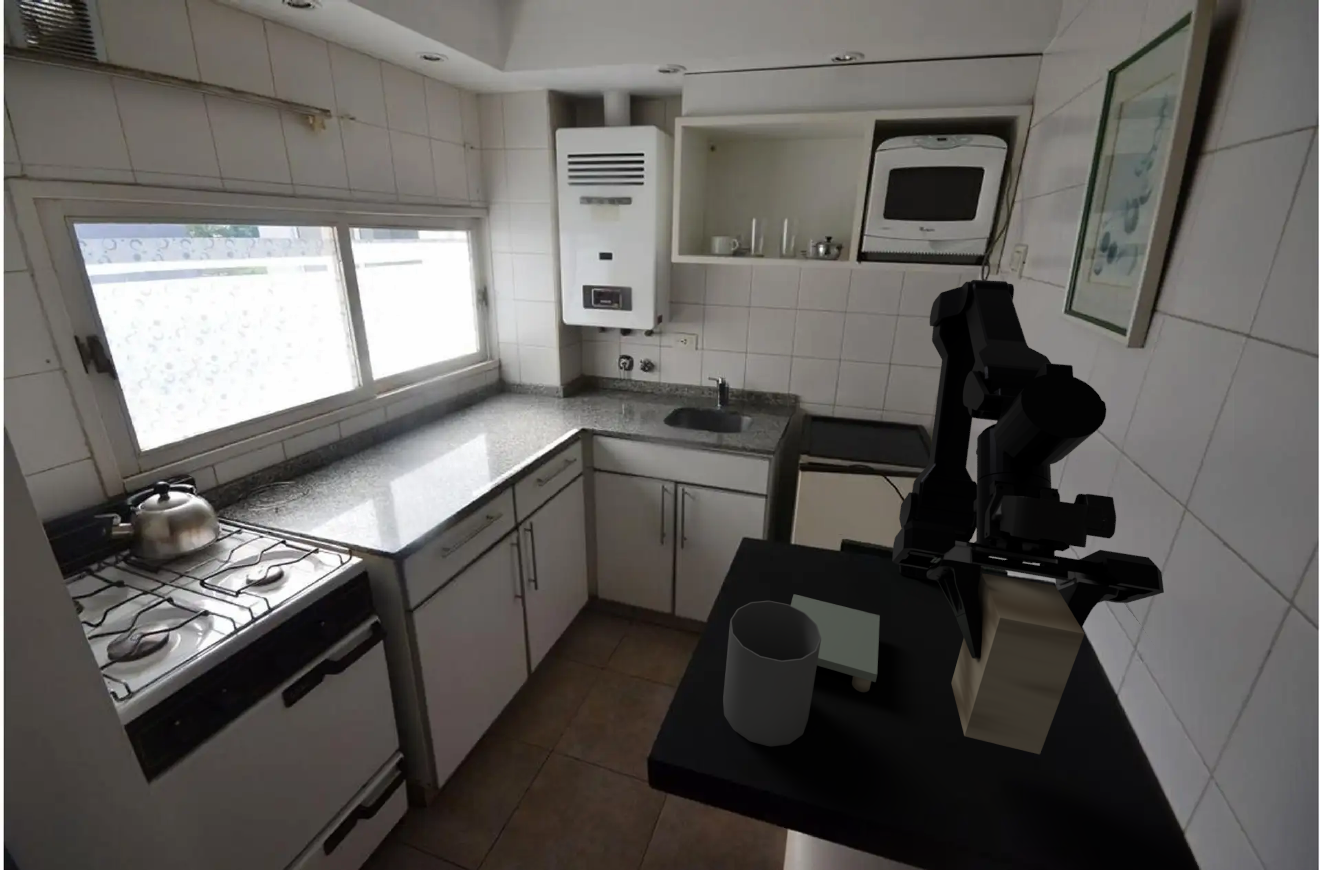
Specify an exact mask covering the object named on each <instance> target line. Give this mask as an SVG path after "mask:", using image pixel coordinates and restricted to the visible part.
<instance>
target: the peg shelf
mask: <svg viewBox="0 0 1320 870" xmlns="http://www.w3.org/2000/svg"><path fill="white" fill-rule="evenodd" d="M790 606H792V607H794V608H796V609H798V610H800V611H802V612H804V613H806V614H807V615H808V616H809V617H810V618H811V619H812V620H813V621H814V622H815V623H816V624H817V626H818V630H819V633H820V636H821V643H820V649H819V655H818V662H817V667H821V668H825V669H827V670H828V669H829V670H832V671H836V672H838V673H842V674H846V675H849V676H852V681H851V685H852V687H853V689H855V690H856V691H858V692H861V693H867V692H869V691H870V690H871V689H870V688H871V685H872V683H873V682H874V683H876V682H877V677H878V664H879V663H878V661H879V644H880V643H879V641H880V639H879V638H880V614H875V613H871V612H867V611H863V610H859V609H855V608H851V607H846V606H844V605H843V606H842V605H838V604H834V603H831V602H827V601H824V600H823V601H822V600H818V599H815V598H810V597H807V596H803V595H798V594H794V593H793V596H792V599H791V603H790Z"/></svg>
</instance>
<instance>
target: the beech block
mask: <svg viewBox="0 0 1320 870" xmlns="http://www.w3.org/2000/svg"><path fill="white" fill-rule="evenodd" d="M978 596H979V608H980V620H981V632H982V646H981V658H980V659H973V658H972V657H971V654H970V652H969V649H968V647H967V644H966V642H965V639H964V638H963V640H962V643H961V647H960V650H959V655H958V658H957V662H956V666H955V669H954V673H953V676H952V679H951V687H952V692H953V696H954V699H955V703H956V708H957V712H958V715H959V718H960V723H961V727H962V731H963V736H964V737H965V738H966V737H967V738H971V739H975V740H979V741H983V742H986V743H987V742H988V743H992V744H996V745H998V746H999V745H1000V746H1004V747H1007V748H1012V749H1016V750H1021V751H1024V752H1029V753H1032V754H1033V753H1034V754H1037V755H1041V753H1042V752H1041V751H1042V750H1043V747H1044V744H1045V742H1046V739H1047V736H1048V733H1049V732H1050V731H1049V730H1050V728H1051V726H1052V723H1053V719H1054V717H1055V715H1056V712H1057V709H1058V706H1059V704H1060V702H1061V698H1062V695H1063V693H1064V690H1065V688H1066V685H1067V682H1068V680H1069V677H1070V674H1071V672H1072V669H1073V666H1074V663H1075V660H1076V658H1077V655H1078V653H1079V651H1080V647H1081V645H1082V642H1083V639H1084V636H1085V632H1084V630H1083V628H1082V629H1081V627H1080V625H1079V624H1078V622H1077V620H1076V619H1075V617H1074V615H1073V614H1072V612H1071V610H1070V609H1069V607H1068V605H1067V604H1066V602H1065V600H1064V599H1063V597H1062V596H1061V594H1060V592H1059V591H1058V589H1057V587H1056V585H1052V584H1046V583H1041V582H1034V581H1029V580H1024V579H1018V578H1012V577H1006V576H1000V575H995V574H988V573H980V578H979V585H978Z"/></svg>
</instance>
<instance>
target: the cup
mask: <svg viewBox="0 0 1320 870" xmlns="http://www.w3.org/2000/svg"><path fill="white" fill-rule="evenodd" d="M729 620H730V621H729V631H728V641H727V653H726V664H725V675H724V684H723V685H724V687H723V697H722V701H723V702H722V703H723V704H722V705H723V715H724V717H725V719H726V720H727V722H728V724H729V726H730V727H731V728H732V729H733V731H735V732H736V733H737V734H739V735H740V736H741V737H743V738H744V739H746V740H747V741H749V742H752V743H755V744H758V745H763V746H767V747H778V746H787V745H790V744H792V743H793V742H795V741H796V740H797V739H798V738H800V737H802V736H803V735H804V732H805V729H806V727H807V724H808V721H809V716H810V709H811V705H812V698H813V691H814V685H815V680H816V674H817V672H816V671H817V667H818V666H817V662H818V655H819V649H820V643H821V636H820V633H819V630H818V626H817V624H816V623H815V622H814V621H813V620H812V619H811V618H810V617H809V616H808V615H807V614H806V613H804V612H802V611H800V610H798V609H796V608H794V607H792V606H791V604H787V603H783V602H777V601H772V600H762V601H750V602H749V603H747V604H745V605H743V606H741V607H739V608H737V609H736V611H735V612H734V614H733V615H732V617H731V618H730V619H729Z"/></svg>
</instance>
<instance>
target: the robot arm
mask: <svg viewBox="0 0 1320 870" xmlns="http://www.w3.org/2000/svg"><path fill="white" fill-rule="evenodd" d="M1014 296H1015V286H1014V284H1013V283H1008V282H1007V281H1006V280H1002V281H1001V280H989V279H988V280H985V279H972V280H971V281H965V282H964V283H963V284H962V285H961V286H959V287H955V288H952V289H949V290H945V291H941V292H940V293H939V295H937V297H936V298H935V299H934V301H933V302H932V305H931V310H930V313H929V326H930V327H932V336H931V342H932V345H934V347H935V350H936V351H937V353H938V355H939V356H940V358H941V364H940V365H941V366H940V373H939V381H938V390H937V397H936V405H935V412H934V420H933V421H934V422H933V429H932V439H931V444H930V452H929V460H928V464H927V466H925V468H924V469H923V470H922V471H921V472H920V473H919V475H918V476H917V477H916V478H915V479H914V481H913V485H912V491H910V492H908V494H907V495H906V496H905V498H904V499H903V501H902V502H901V503H900V504H901V505H900V511H899V517H898V519H899V523H900V527H901V529H900V530H899V531H898V533H897V534H896V536H894V540H893V545H892V559H891V560H892V563H894V564H896V565H899V573H900V575H903V576H906V577H912V578H915V579H920V580H924V581H928V582H933V583H938V585H939V586H940V589H941V591H942V593H943V595H944V596H945V598H946V600H947V602H948V604H949V605H950V607H951V609H952V611H953V612H952V613H953V614H954V616H955V619H956V621H957V623H958V626H959V629H960V631H961V634H962V636H963V639H965V642H966V644H967V647H968V649H969V652H970V654H971V657H972V658H973V659H980V658H981V646H982V632H981V620H980V608H979V596H978V585H979V581H980V578H981V570H982V567H984V568H989V569H996V570H1002V571H1006V572H1008V571H1009V572H1013V573H1019V574H1026V575H1031V576H1037V577H1043V578H1049V579H1055V586H1056V587H1057V589H1058V591H1059V592H1060V594H1061V596H1062V597H1063V599H1064V600H1065V602H1066V604H1067V605H1068V607H1069V609H1070V610H1071V612H1072V614H1073V615H1074V617H1075V619H1076V620H1077V622H1078V624H1079V625H1080V627H1081V629H1082V630H1083V626H1084V624H1085V623H1086V620H1087V618H1088V617H1089V615H1090V613H1091V612H1092V610H1093V609H1094V608H1095V607H1096V605H1098V604H1099V603H1102V602H1108V603H1109V602H1110V603H1115V604H1117V603H1118V604H1119V603H1120V604H1129V603H1131V602H1135V601H1140V600H1142V599H1147V598H1149V597H1152V596H1153V597H1154V596H1157V595H1160V594H1164V593H1165V591H1164V582H1163V581H1164V580H1163V573H1162V570H1161V569H1160V568H1159V567H1158V566H1157V564H1155V562H1154V561H1153V560H1152V559H1151V558H1150V557H1148V556H1143V555H1136V554H1130V553H1129V554H1128V553H1124V552H1117V551H1111V550H1110V551H1109V550H1105V549H1099V550H1097V551H1095V552H1092V553H1090V554H1088V555H1086V556H1083V557H1082V558H1080V559H1077V558H1071V557H1066V556H1065V557H1064V556H1061V555H1060V556H1058V555H1055V554H1056V553H1055V552H1056V551H1057V552H1058V551H1059V552H1064V551H1066V550H1068V549H1070V547H1078V548H1087V547H1086V546H1087V537H1088V536H1090V537H1096V538H1102V539H1111V538H1112V537H1113V536H1114V535H1115V533H1116V525H1117V512H1116V507H1115V502H1114V501H1115V500H1114V497H1113V496H1108V495H1107V496H1106V495H1099V494H1092V493H1086V494H1085V493H1078V494H1077V495H1076V496H1075V499H1074V502H1065V501H1061V494H1060V493H1059V489H1058V488H1054V487H1052V474H1051V469H1052V467H1051V465H1053V464H1054V465H1055V464H1057V463H1058V462H1060V461H1062V460H1063V459H1064V458H1066V457H1067V456H1068V455H1069V454H1070V453H1071V452H1073V451H1074V450H1075V449H1076V448H1078V447H1079V446H1080V445H1081V444H1082V443H1084V442H1085V440H1087V439H1088V438H1089V437H1090V436H1092V435H1093V434H1094V433H1096V432H1097V431H1098V429H1100V428H1101V426H1102V425H1103V424H1104V421H1105V419H1106V416H1107V405H1106V402H1105V401H1104V400H1102V398H1101V395H1100V394H1099V393H1098V392H1097V391H1096V389H1095V388H1093V387H1092V386H1091V385H1089V383H1087V382H1086V381H1083V380H1082V379H1080V378H1078V377H1075V376H1074V368H1073V365H1071V364H1064V363H1063V364H1060V363H1052V362H1051V361H1050V359H1049V358H1048V356H1046V355H1045V354H1043V353H1041V352H1039V351H1037V350H1036V349H1033V348H1031V347H1029V344H1028V343H1027V341H1026V338H1025V335H1024V331H1023V328H1022V325H1021V322H1020V319H1019V315H1018V313H1017V310H1016V307H1015V304H1014V301H1013V300H1014ZM973 419H977V420H979V419H980V420H987V421H995V422H996V423H993V424H991V425H989V426H987V427H986V428H984V430H982V431H981V432H980V434H979V435H978V436H977V438H976V439H977V440H976V441H977V442H976V444H977V445H976V450H975V453H976V481H974V480H973V478H972V477H971V475H970V473H969V470H968V469H967V464H968V463H967V462H968V456H969V455H968V454H969V447H970V438H971V431H972V424H973ZM975 532H976V533H975ZM974 534H976V537H975V538H976V539H975V541H974V542H971V540H972V539H973V538H974V537H973V536H974ZM1038 564H1039V565H1038Z"/></svg>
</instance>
